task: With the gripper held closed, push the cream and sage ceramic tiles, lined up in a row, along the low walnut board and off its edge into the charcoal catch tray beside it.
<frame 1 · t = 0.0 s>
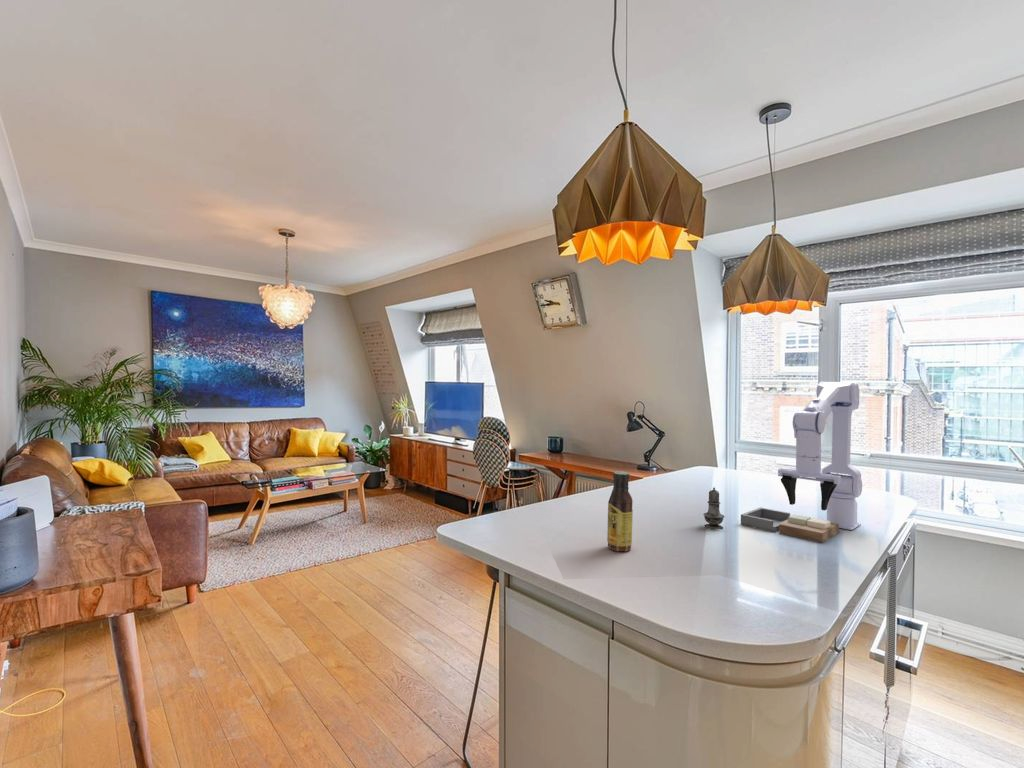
hand: (807, 506, 132), 10 cm above the worktop, tool pointing down, fingers open, 7 cm apart
catch tray: (767, 524, 151), on the worktop
sauce bottle: (619, 549, 127), on the worktop
salt shaker: (713, 527, 147), on the worktop
sage tile: (799, 522, 144), point 2 cm above the worktop, touching walnut board
cream tile: (818, 526, 140), point 2 cm above the worktop, touching walnut board
walnut board: (809, 532, 142), on the worktop
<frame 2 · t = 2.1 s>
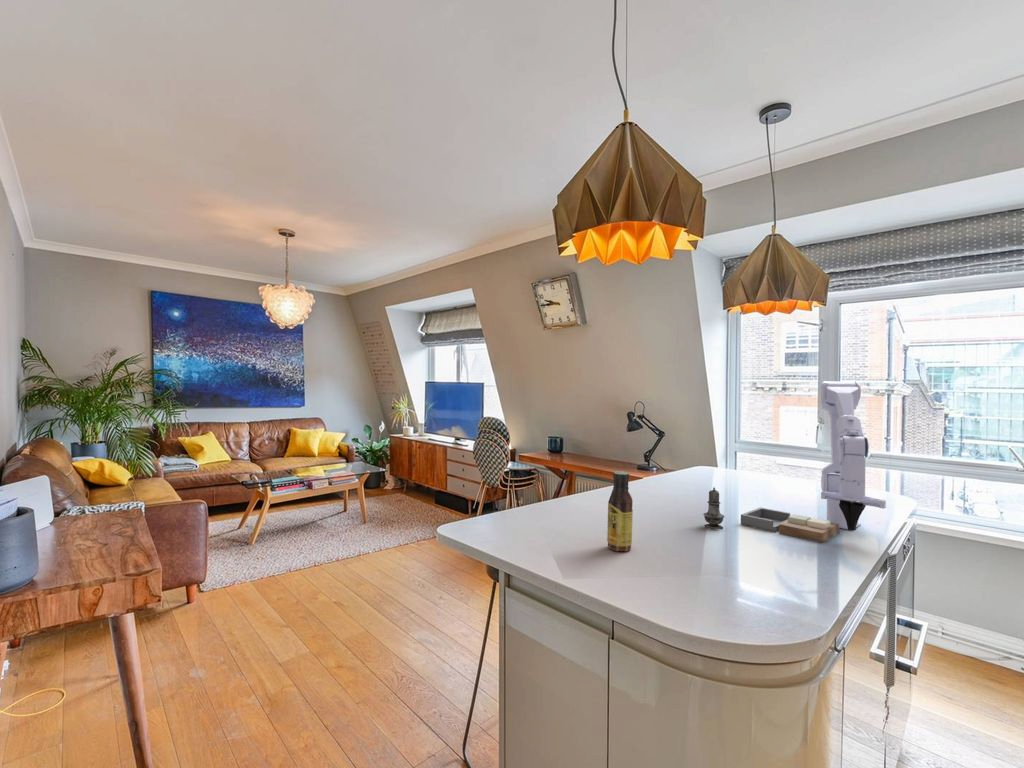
hand: (851, 529, 134), 3 cm above the worktop, tool pointing down, fingers closed
nothing on the worktop moved.
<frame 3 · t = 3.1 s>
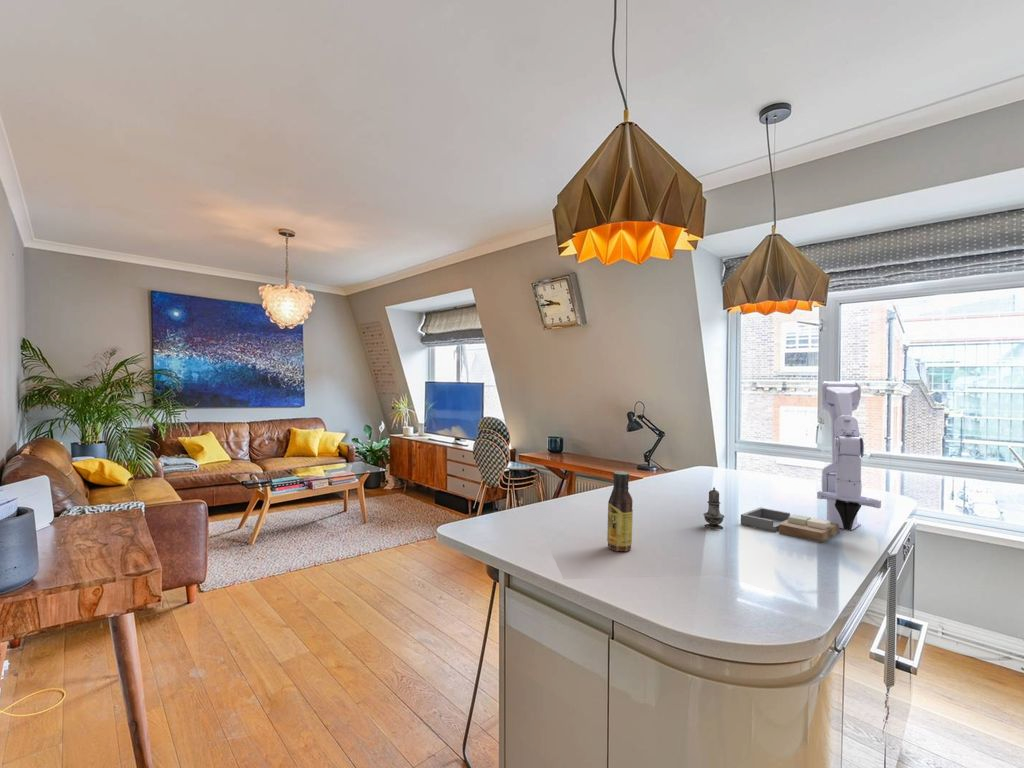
hand: (847, 529, 135), 3 cm above the worktop, tool pointing down, fingers closed
nothing on the worktop moved.
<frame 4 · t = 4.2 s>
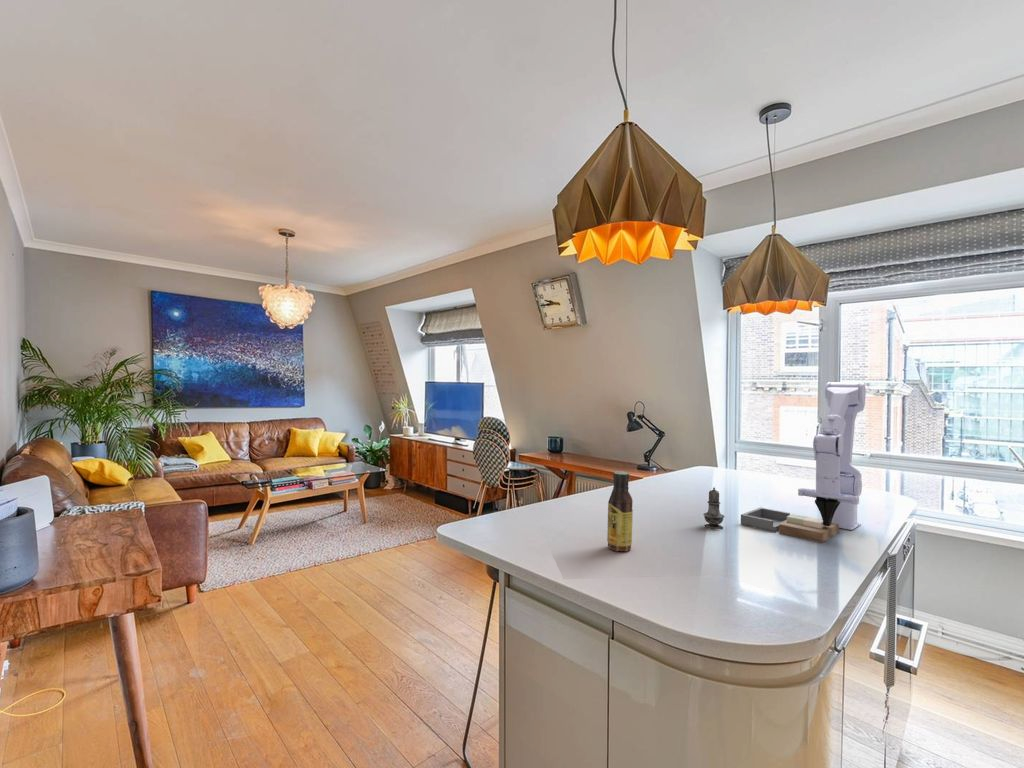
hand: (827, 525, 139), 3 cm above the worktop, tool pointing down, fingers closed
sage tile: (797, 521, 145), point 3 cm above the worktop, touching cream tile, walnut board
cream tile: (814, 525, 141), point 3 cm above the worktop, touching gripper, sage tile
everything else where it was.
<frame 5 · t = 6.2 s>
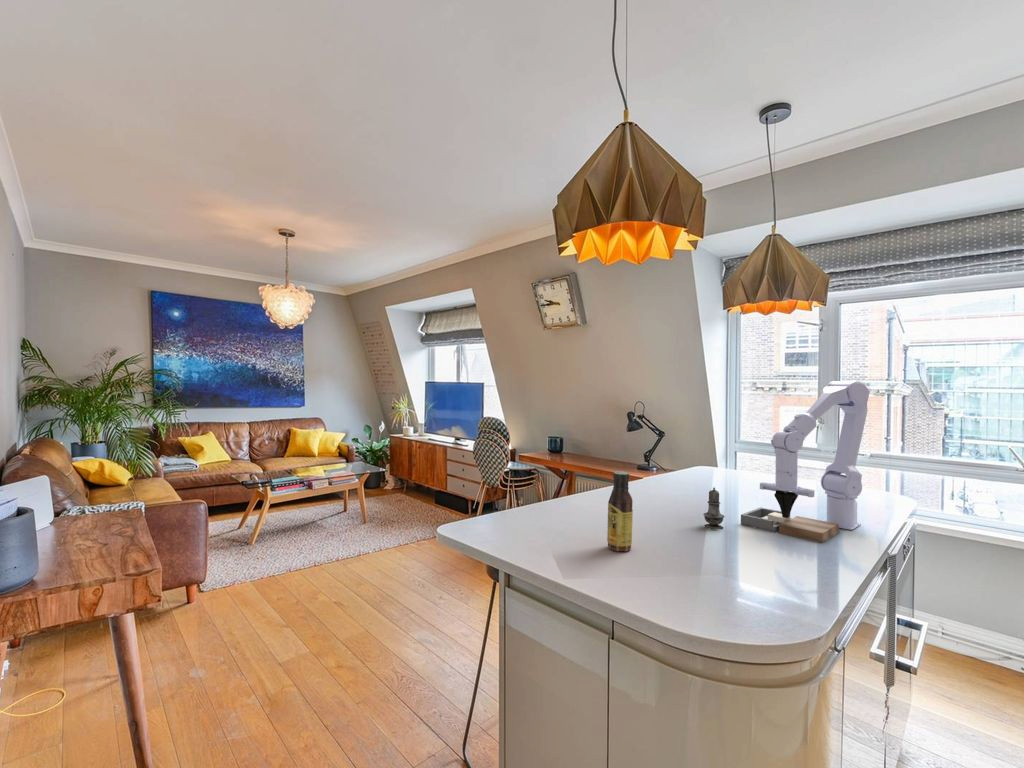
hand: (785, 517, 147), 3 cm above the worktop, tool pointing down, fingers closed, pressing on cream tile
sage tile: (771, 523, 150), resting on catch tray, touching cream tile
cream tile: (778, 520, 149), point 2 cm above the worktop, touching gripper, sage tile
everything else where it was.
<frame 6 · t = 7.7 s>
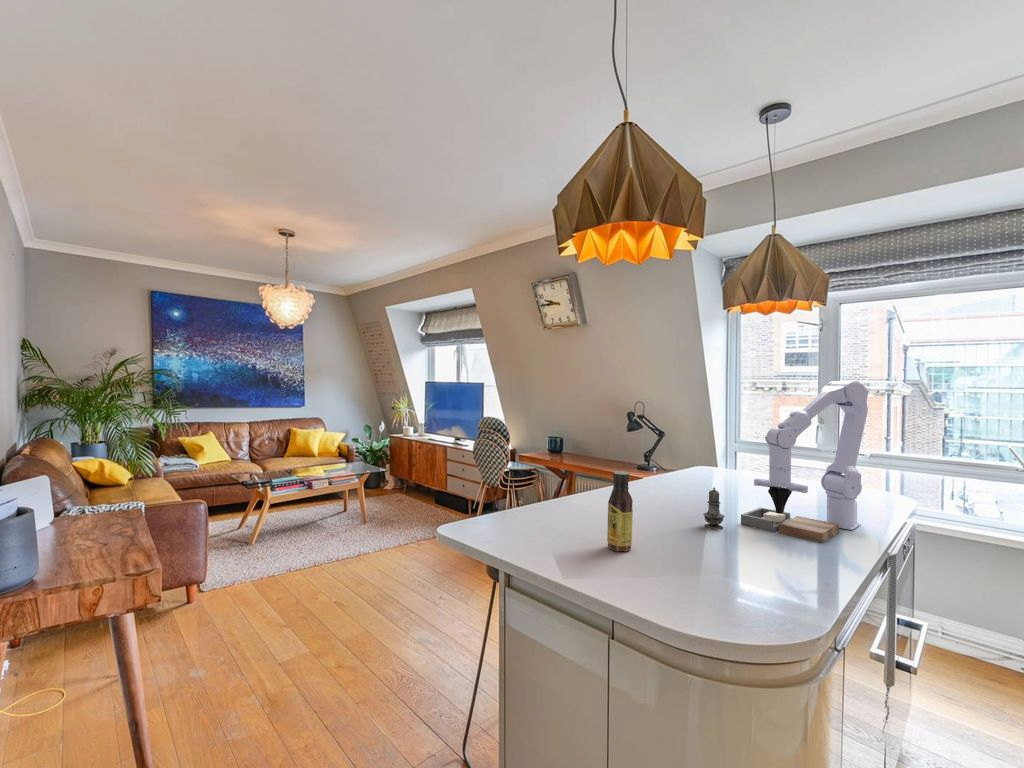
hand: (779, 512, 148), 4 cm above the worktop, tool pointing down, fingers closed
cream tile: (774, 519, 150), point 2 cm above the worktop, touching sage tile
everything else where it was.
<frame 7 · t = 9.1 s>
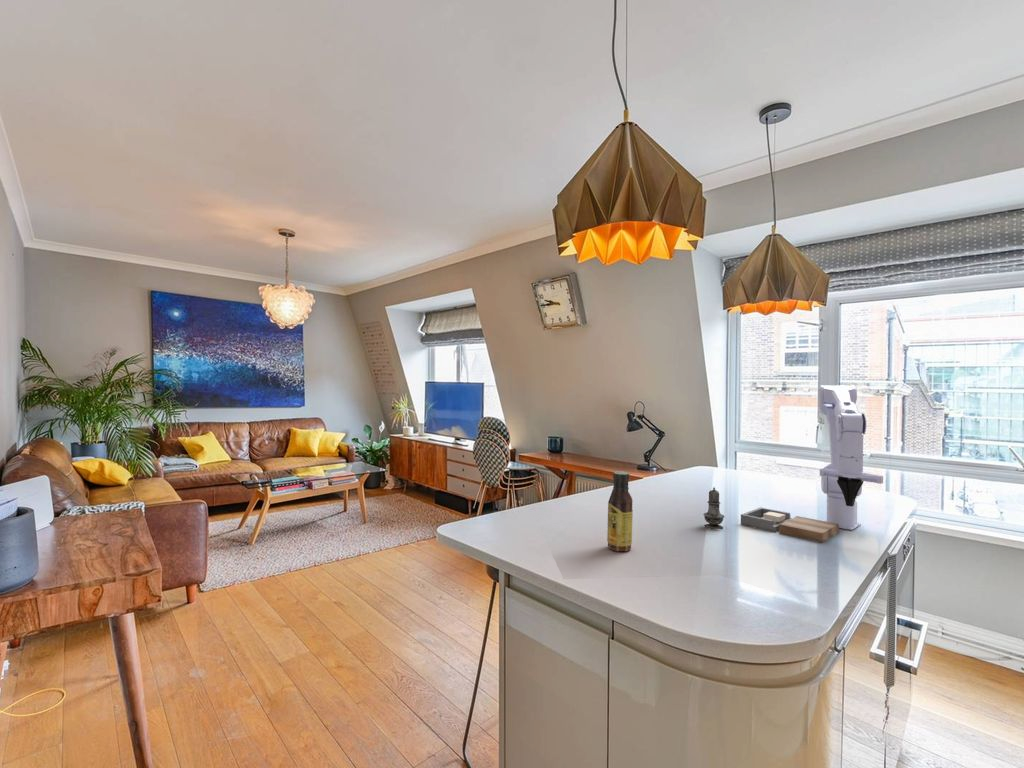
hand: (849, 505, 137), 9 cm above the worktop, tool pointing down, fingers closed
nothing on the worktop moved.
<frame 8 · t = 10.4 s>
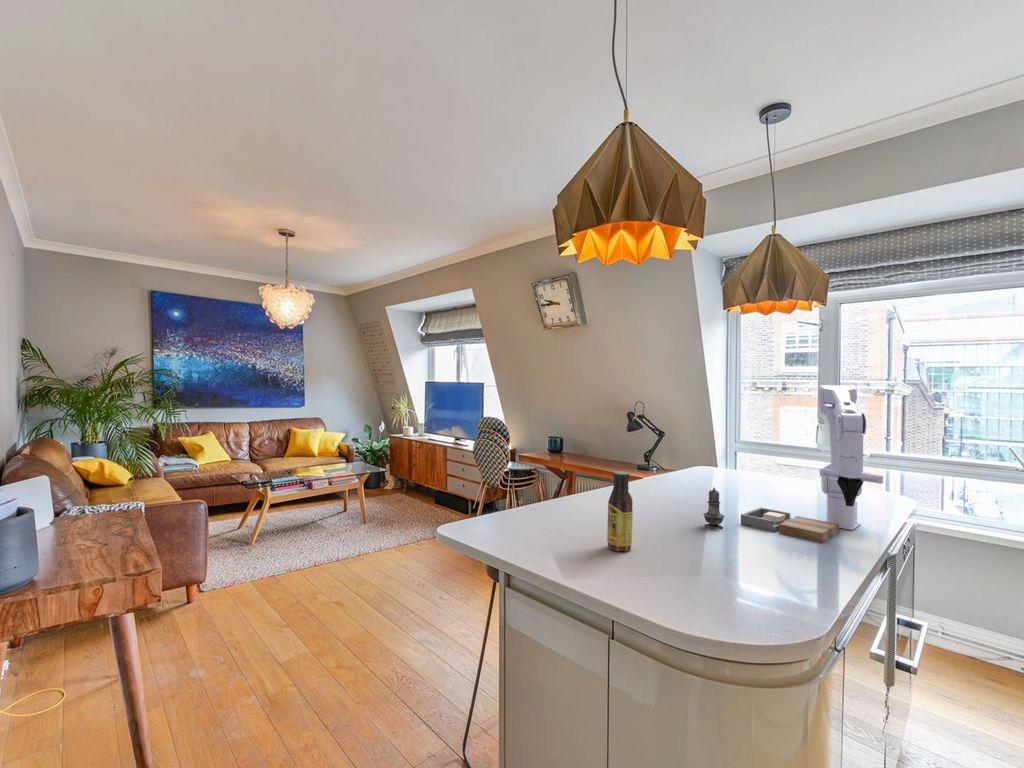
hand: (849, 505, 137), 9 cm above the worktop, tool pointing down, fingers closed
nothing on the worktop moved.
at the end: sage tile inside the target area on the catch tray (1.1 cm from its centre), point 0.4 cm above the catch tray's base; cream tile inside the target area on the catch tray (2.0 cm from its centre), point 1.9 cm above the catch tray's base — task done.
